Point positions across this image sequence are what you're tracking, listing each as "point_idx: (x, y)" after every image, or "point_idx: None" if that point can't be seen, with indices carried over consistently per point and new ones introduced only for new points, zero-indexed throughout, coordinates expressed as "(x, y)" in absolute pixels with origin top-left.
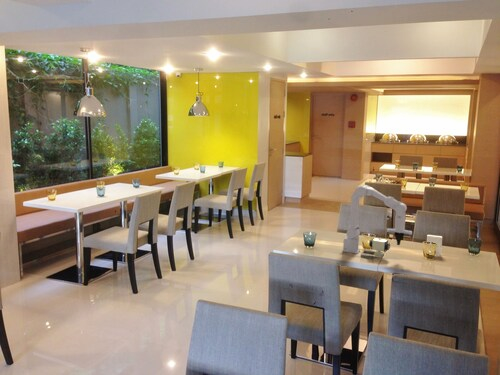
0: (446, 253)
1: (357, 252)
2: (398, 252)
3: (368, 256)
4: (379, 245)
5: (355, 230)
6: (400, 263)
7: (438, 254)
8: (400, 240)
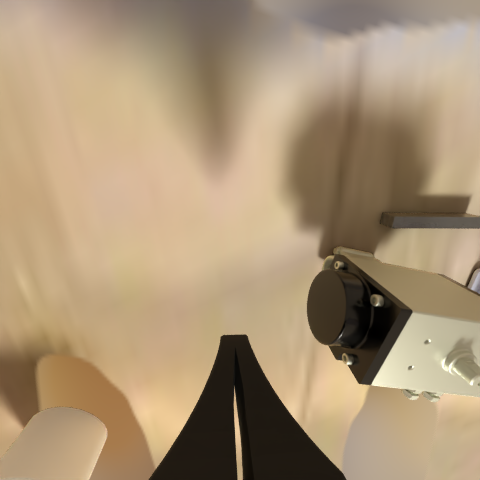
0: None
1: (478, 278)
2: None
3: (425, 215)
4: (422, 287)
5: None
6: (199, 187)
7: (24, 427)
8: (208, 387)
